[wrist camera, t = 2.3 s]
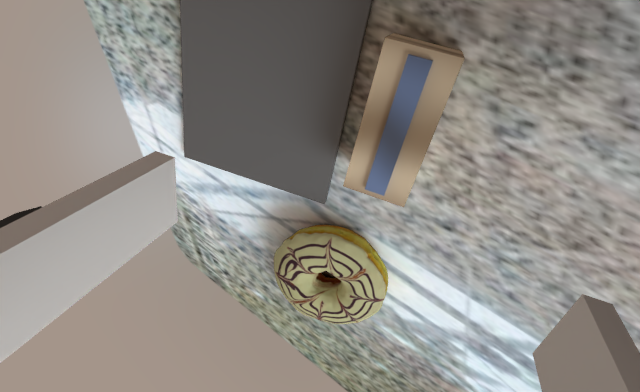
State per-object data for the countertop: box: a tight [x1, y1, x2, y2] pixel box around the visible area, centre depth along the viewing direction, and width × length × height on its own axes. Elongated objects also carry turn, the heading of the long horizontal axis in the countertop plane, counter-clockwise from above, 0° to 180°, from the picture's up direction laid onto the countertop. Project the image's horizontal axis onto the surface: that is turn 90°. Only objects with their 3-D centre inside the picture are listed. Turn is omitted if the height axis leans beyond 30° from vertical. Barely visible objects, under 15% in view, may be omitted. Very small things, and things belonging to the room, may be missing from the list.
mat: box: [180, 0, 373, 204], centre depth 27 cm, size 16×14×1 cm
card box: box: [343, 33, 465, 207], centre depth 23 cm, size 10×4×4 cm, turn 167°
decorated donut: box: [274, 225, 388, 324], centre depth 32 cm, size 10×11×4 cm
